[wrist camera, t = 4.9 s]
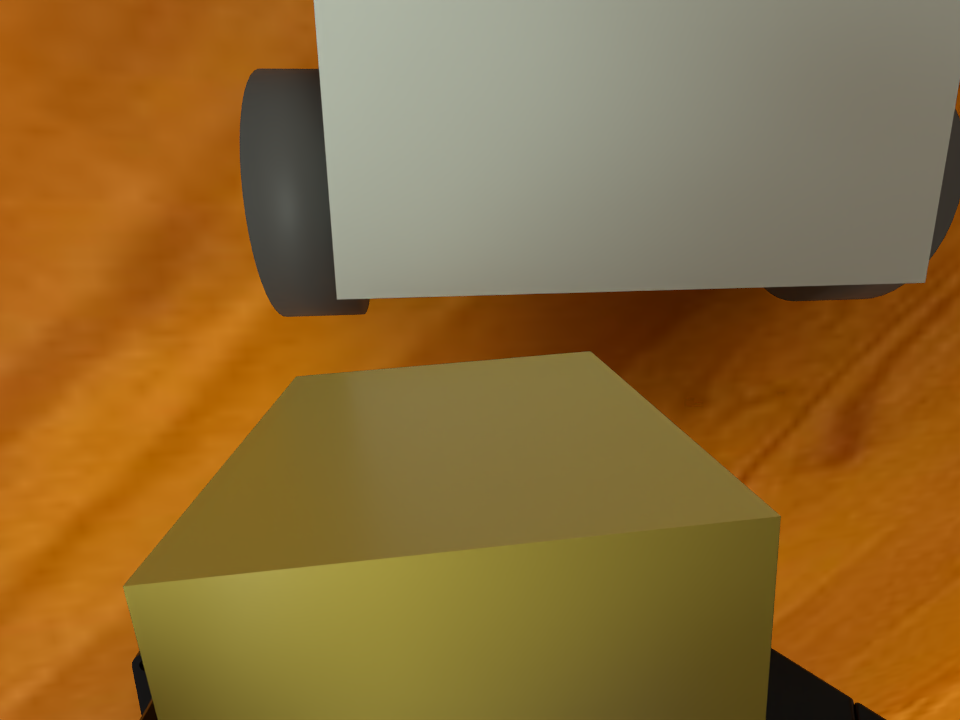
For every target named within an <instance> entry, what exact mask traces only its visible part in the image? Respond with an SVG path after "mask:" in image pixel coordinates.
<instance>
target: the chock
mask: <svg viewBox="0 0 960 720" xmlns="http://www.w3.org/2000/svg"><path fill="white" fill-rule="evenodd" d="M780 518H781V516H780V515H779V514H778V513H776V512H775V511H774V510H773V509H772V508H771V507H769V506H768V505H767V504H766V503H765V502H764V501H763V500H761V499H760V498H759V497H758V496H757V495H756V494H754V493H753V492H752V491H751V490H750V489H749V488H748V487H746V486H745V485H744V484H743V483H742V482H741V481H740V480H738V479H737V478H736V477H735V476H734V475H733V474H731V473H730V472H729V471H728V470H727V469H726V468H725V467H723V466H722V465H721V464H720V463H719V462H718V461H716V460H715V459H714V458H713V457H712V456H711V455H710V454H708V453H707V452H706V451H705V450H704V449H703V448H701V447H700V446H699V445H698V444H697V443H696V442H695V441H693V440H692V439H691V438H690V437H689V436H688V435H687V434H685V433H684V432H683V431H682V430H681V429H680V428H678V427H677V426H676V425H675V424H674V423H673V422H672V421H670V420H669V419H668V418H667V417H666V416H665V415H663V414H662V413H661V412H660V411H659V410H658V409H657V408H655V407H654V406H653V405H652V404H651V403H650V402H648V401H647V400H646V399H645V398H644V397H643V396H642V395H640V394H639V393H638V392H637V391H636V390H635V389H633V388H632V387H631V386H630V385H629V384H628V383H627V382H625V381H624V380H623V379H622V378H621V377H620V376H619V375H617V374H616V373H615V372H614V371H613V370H612V369H610V368H609V367H608V366H607V365H606V364H605V363H604V362H602V361H601V360H600V359H599V358H598V357H597V356H595V355H594V354H593V353H592V352H591V351H587V352H576V353H564V354H552V355H541V356H529V357H518V358H506V359H494V360H483V361H471V362H460V363H448V364H436V365H425V366H413V367H401V368H390V369H378V370H367V371H355V372H343V373H332V374H320V375H309V376H297V377H296V378H295V379H294V380H293V381H292V382H291V384H290V385H289V386H288V387H287V388H286V390H285V391H284V392H283V393H282V395H281V396H280V397H279V398H278V399H277V401H276V402H275V403H274V404H273V405H272V407H271V408H270V409H269V410H268V411H267V413H266V414H265V415H264V416H263V418H262V419H261V420H260V421H259V422H258V424H257V425H256V426H255V427H254V428H253V430H252V431H251V432H250V433H249V434H248V436H247V437H246V438H245V439H244V441H243V442H242V443H241V444H240V445H239V447H238V448H237V449H236V450H235V451H234V453H233V454H232V455H231V456H230V458H229V459H228V460H227V461H226V462H225V464H224V465H223V466H222V467H221V468H220V470H219V471H218V472H217V473H216V474H215V476H214V477H213V478H212V479H211V481H210V482H209V483H208V484H207V485H206V487H205V488H204V489H203V490H202V491H201V493H200V494H199V495H198V496H197V497H196V499H195V500H194V501H193V502H192V504H191V505H190V506H189V507H188V508H187V510H186V511H185V512H184V513H183V514H182V516H181V517H180V518H179V519H178V520H177V522H176V523H175V524H174V525H173V527H172V528H171V529H170V530H169V531H168V533H167V534H166V535H165V536H164V537H163V539H162V540H161V541H160V542H159V543H158V545H157V546H156V547H155V548H154V550H153V551H152V552H151V553H150V554H149V556H148V557H147V558H146V559H145V560H144V562H143V563H142V564H141V565H140V566H139V568H138V569H137V570H136V571H135V573H134V574H133V575H132V576H131V577H130V579H129V580H128V581H127V582H126V583H125V585H124V586H123V588H124V592H125V596H126V600H127V604H128V608H129V611H130V615H131V619H132V623H133V627H134V630H135V634H136V638H137V642H138V646H139V650H140V653H141V657H142V661H143V665H144V669H145V673H146V676H147V680H148V684H149V688H150V692H151V696H152V699H153V703H154V707H155V711H156V715H157V719H158V720H766V707H767V693H768V680H769V666H770V653H771V639H772V626H773V612H774V599H775V585H776V572H777V559H778V545H779V532H780Z"/></svg>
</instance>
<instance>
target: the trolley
mask: <svg viewBox="0 0 960 720" xmlns="http://www.w3.org/2000/svg"><path fill="white" fill-rule="evenodd" d="M314 10H315V23H316V36H317V49H318V62H319V69H257V70H255V71H254V72H253V73H252V74H251V75H250V77H249V80H248V82H247V85H246V88H245V92H244V97H243V102H242V110H241V121H240V165H241V180H242V191H243V200H244V207H245V215H246V220H247V226H248V232H249V237H250V242H251V246H252V251H253V255H254V259H255V262H256V266H257V269H258V273H259V276H260V279H261V282H262V284H263V287H264V289H265V292H266V294H267V296H268V298H269V300H270V302H271V304H272V305H273V307H274V308H275V310H276V311H277V312H278V313H279V314H281V315H282V316H286V317H292V316H325V315H357V314H365V313H366V312H367V309H368V305H369V299H371V298H406V297H441V296H476V295H511V294H547V293H582V292H617V291H652V290H687V289H722V288H758V287H764V288H765V289H766V290H767V291H768V292H770V293H771V294H773V295H774V296H776V297H778V298H781V299H784V300H789V301H815V300H847V299H868V298H874V297H878V296H882V295H884V294H887V293H889V292H891V291H894V290H895V289H897V288H898V287H900V286H902V285H903V284H905V283H925V280H926V274H927V269H928V263H929V260H930V258H931V257H932V256H933V254H934V253H935V252H936V250H937V249H938V247H939V245H940V244H941V242H942V240H943V239H944V237H945V235H946V233H947V231H948V229H949V227H950V225H951V223H952V220H953V218H954V215H955V212H956V209H957V206H958V203H959V199H960V119H959V116H958V114H957V111H956V109H955V105H956V99H957V93H958V87H959V81H960V0H314Z"/></svg>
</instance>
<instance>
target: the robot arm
mask: <svg viewBox="0 0 960 720" xmlns="http://www.w3.org/2000/svg"><path fill="white" fill-rule="evenodd" d="M132 669H133V674H134V679H135V684H136V689H137V694H138V699H139V705H140V710H141V715H142V717H141V718H140V720H158V719H157V715H156V711H155V707H154V703H153V699H152V696H151V692H150V688H149V684H148V680H147V676H146V673H145V669H144V665H143V661H142V657H141V653H140V651H139V652H138V654H137V655H136V657H135V658H134V660H133V662H132ZM766 720H886V719H884V718H883V717H881V716H879V715H878V714H876V713H875V712H873V711H872V710H870V709H868V708H867V707H865V706H864V705H862V704H860V703H855V704H854V702H853V700H852V698H850V697H849V696H847V695H846V694H844V693H842V692H841V691H839V690H838V689H836V688H834V687H833V686H831V685H830V684H828V683H826V682H825V681H823V680H822V679H820V678H818V677H817V676H815V675H814V674H812V673H810V672H809V671H807V670H806V669H804V668H802V667H801V666H799V665H798V664H796V663H794V662H793V661H791V660H790V659H788V658H786V657H785V656H783V655H782V654H780V653H778V652H777V651H775V650H774V649H772V648H771V653H770V666H769V680H768V693H767V707H766Z"/></svg>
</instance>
